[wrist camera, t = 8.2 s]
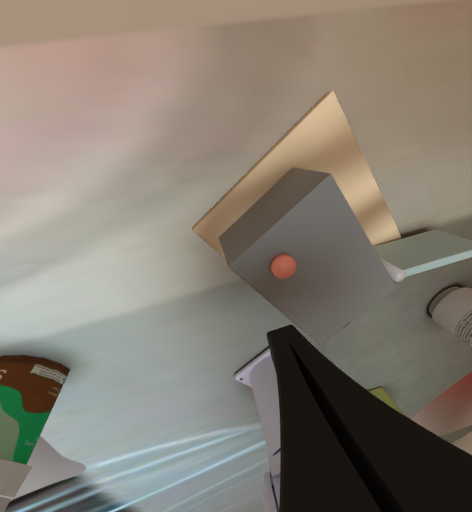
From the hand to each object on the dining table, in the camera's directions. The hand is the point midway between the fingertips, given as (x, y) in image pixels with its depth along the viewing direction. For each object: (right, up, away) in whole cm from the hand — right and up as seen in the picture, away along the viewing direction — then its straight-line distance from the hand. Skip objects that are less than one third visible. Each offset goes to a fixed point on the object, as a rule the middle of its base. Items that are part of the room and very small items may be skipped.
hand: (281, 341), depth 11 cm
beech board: (+5, +6, +10) cm, 12 cm away
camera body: (+3, +5, +9) cm, 11 cm away
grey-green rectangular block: (+14, +5, +11) cm, 19 cm away
